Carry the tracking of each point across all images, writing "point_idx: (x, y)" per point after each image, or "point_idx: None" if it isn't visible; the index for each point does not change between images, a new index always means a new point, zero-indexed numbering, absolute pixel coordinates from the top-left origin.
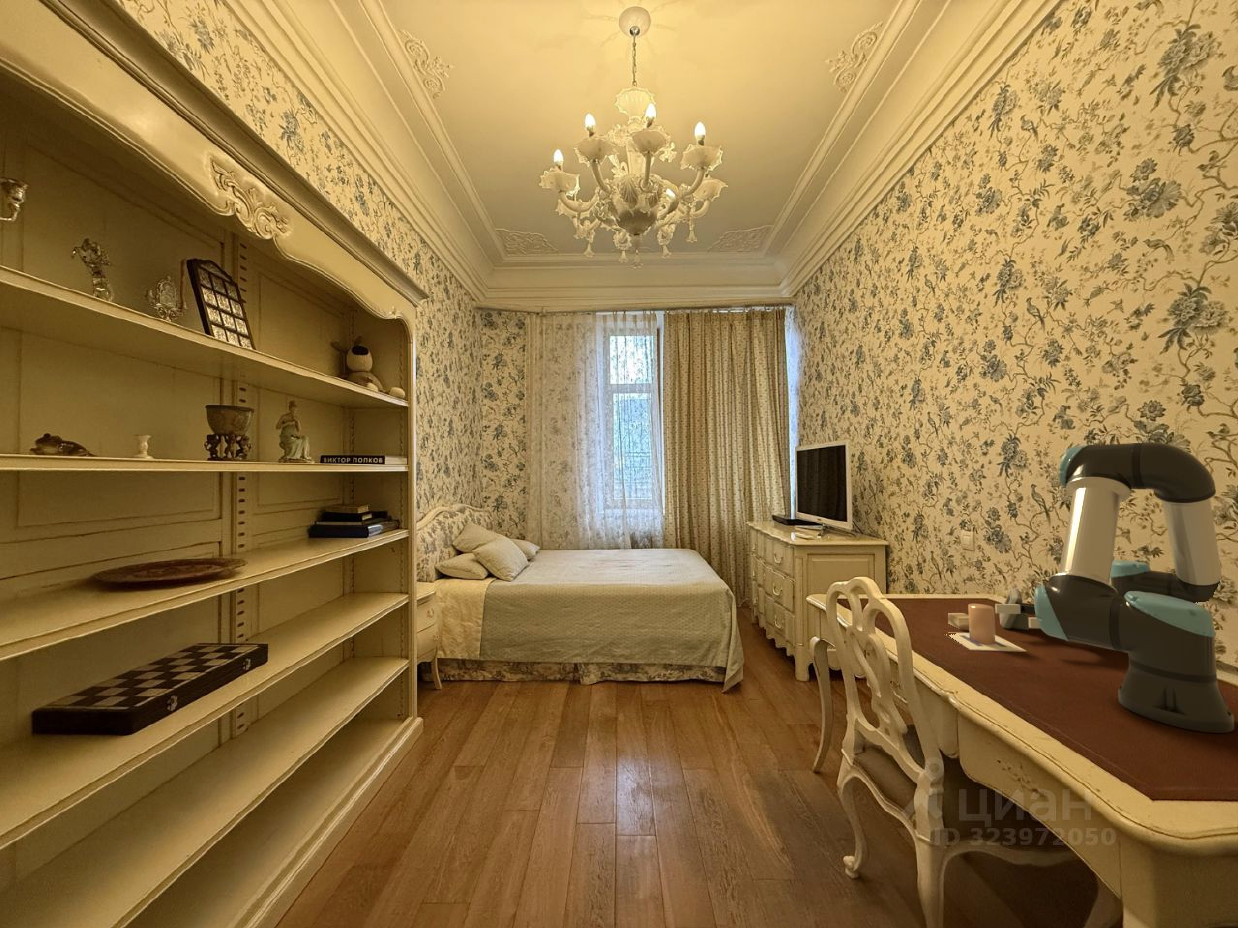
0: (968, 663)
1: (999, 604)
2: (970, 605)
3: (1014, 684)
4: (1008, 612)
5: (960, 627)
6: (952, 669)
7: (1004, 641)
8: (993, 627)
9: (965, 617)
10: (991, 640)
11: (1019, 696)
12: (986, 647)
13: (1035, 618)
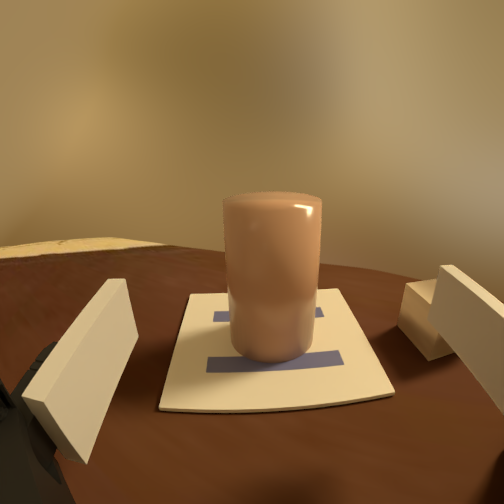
0: (120, 272)
1: (456, 275)
2: (283, 193)
3: (32, 283)
4: (465, 353)
5: (401, 319)
6: (108, 254)
7: (280, 394)
8: (234, 291)
9: (426, 296)
10: (230, 331)
11: (14, 273)
12: (201, 323)
13: (97, 295)
